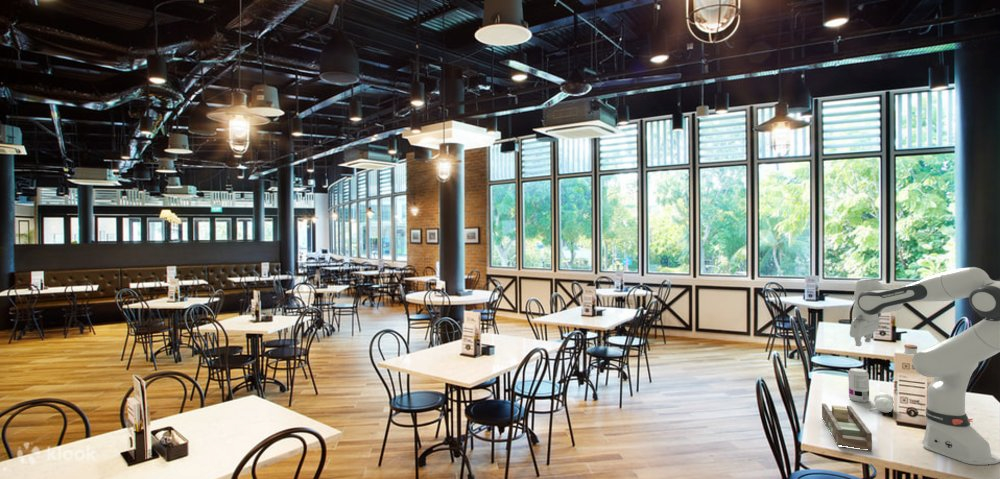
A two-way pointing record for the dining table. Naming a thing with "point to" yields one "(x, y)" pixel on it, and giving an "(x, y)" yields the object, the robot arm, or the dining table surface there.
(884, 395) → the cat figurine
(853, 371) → the supplement can
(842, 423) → the brown long open box
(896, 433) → the dining table surface
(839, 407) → the maple block
